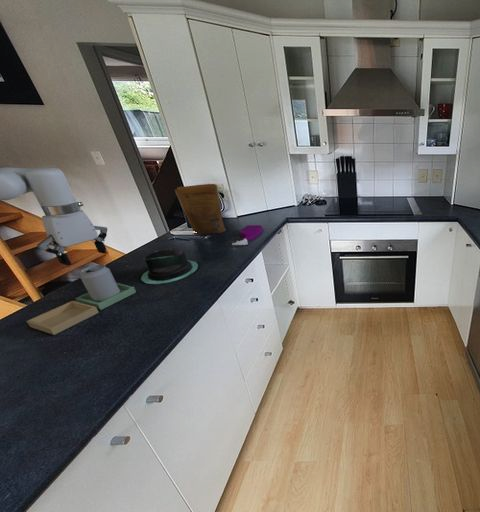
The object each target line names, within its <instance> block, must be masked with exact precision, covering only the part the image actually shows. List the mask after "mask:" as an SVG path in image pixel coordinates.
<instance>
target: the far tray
mask: <svg viewBox="0 0 480 512" xmlns="http://www.w3.org/2000/svg"><path fill="white" fill-rule="evenodd" d="M116 284H117V286H118V288H119V290H120V293H118V294H116V295H114V296H112V297H110V298H108V299H106V300H104V301H102V302H98V301H94V300H92V298H91V296H90V294H89V293H88V292H86V293H84V294H82V295H79V296H78V297H75V301H76V302H80V303H84V304H87V305H91V306H94V307H96V308H97V310H98V311H102V310H103V309H106V308H108V307H110V306H112V305H114V304H116V303H118V302H120V301H122V300H123V299H126V298H128V297H130V296H132V295H134V294H135V293H137V291H136V288H135V286H131V285H126V284H123V283H119V282H116Z"/></svg>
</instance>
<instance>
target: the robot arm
mask: <svg viewBox="0 0 480 512" xmlns="http://www.w3.org/2000/svg"><path fill="white" fill-rule="evenodd" d="M28 193H33V194H34V196H35V198H36V200H37V202H38V204H39V206H40V207H41V208H40V209H42V212H43V213H44V215H42V216H41V220H42V225H43V227H44V228H43V229H44V231H45V233H46V238H44V239H42V240H41V241H40V242H39V243H37V244H36V247H37V248H39V249H41V250H42V251H44V252H46V253H50V254H52V255H55V256H56V258H57V260H58V262H59V263H60V264H62V265H64V266H68V267H69V266H72V262H71V260H70V259H69V256H68V254H66V253H64V252H65V250H66V248H70V247H72V246H73V247H74V246H76V245H80V244H83V243H87V242H91V241H94V242H93V244H94V246H95V247H96V251H97V252H98V253H100V254H104V255H105V254H107V248H106V244H105V239H106V238H107V235H108V234H107V233H108V227H107V226H101V225H94V223H93V222H92V220H91V219H90V218H89V216H88V215H87V213H86V212H85V211H84V210H83V209H82V208H81V207H84V203H83V201H77V199H76V197H75V195H74V193H73V190H72V189H71V186H70V185H69V182H68V179H67V178H66V175H65V174H64V172H63V171H62V170H61V169H60V168H57V167H53V166H52V167H49V166H47V167H46V166H45V167H43V166H42V167H32V168H27V167H25V168H24V167H11V166H10V167H7V166H5V167H0V201H10V200H13V199H16V198H18V197H20V196H21V195H25V194H28ZM98 231H99V234H98ZM50 244H51V245H52V246H53V248H51V247H49V245H50Z"/></svg>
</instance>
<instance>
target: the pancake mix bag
mask: <svg viewBox="0 0 480 512" xmlns="http://www.w3.org/2000/svg"><path fill="white" fill-rule="evenodd" d="M174 192H175V195H176V197H177V199H178V201H179V205H180V206H181V208H182V210H183V212H184V214H185V216H186V219H187V221H188V223H189V224H190V227H191V228H192V232H193V231H195V232H197V233H192V234H193V235H195V236H205V235H206V236H207V235H214V234H222V233H224V232H226V231H227V230H226V228H225V225H224V222H223V215H222V210H221V201H220V196H219V189H218V185H217V184H215V183H206V184H205V183H204V184H195V185H186V186H177V187H176V188H175V189H174Z"/></svg>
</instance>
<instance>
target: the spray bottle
mask: <svg viewBox="0 0 480 512" xmlns="http://www.w3.org/2000/svg"><path fill="white" fill-rule="evenodd" d="M263 229H264V227H263V226H262V225H261V224H259V225H258V224H251V225H250V224H249V225H246V226H244V228H242V229H241V231H239V236H240V237H242V238H241V240H236V241H235V242H233V243H231V245H232V246H247V245H249V243H248V242H250V241H252V240H254V239H256V238H258V236H260V235H261V233H262V232H263Z"/></svg>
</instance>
